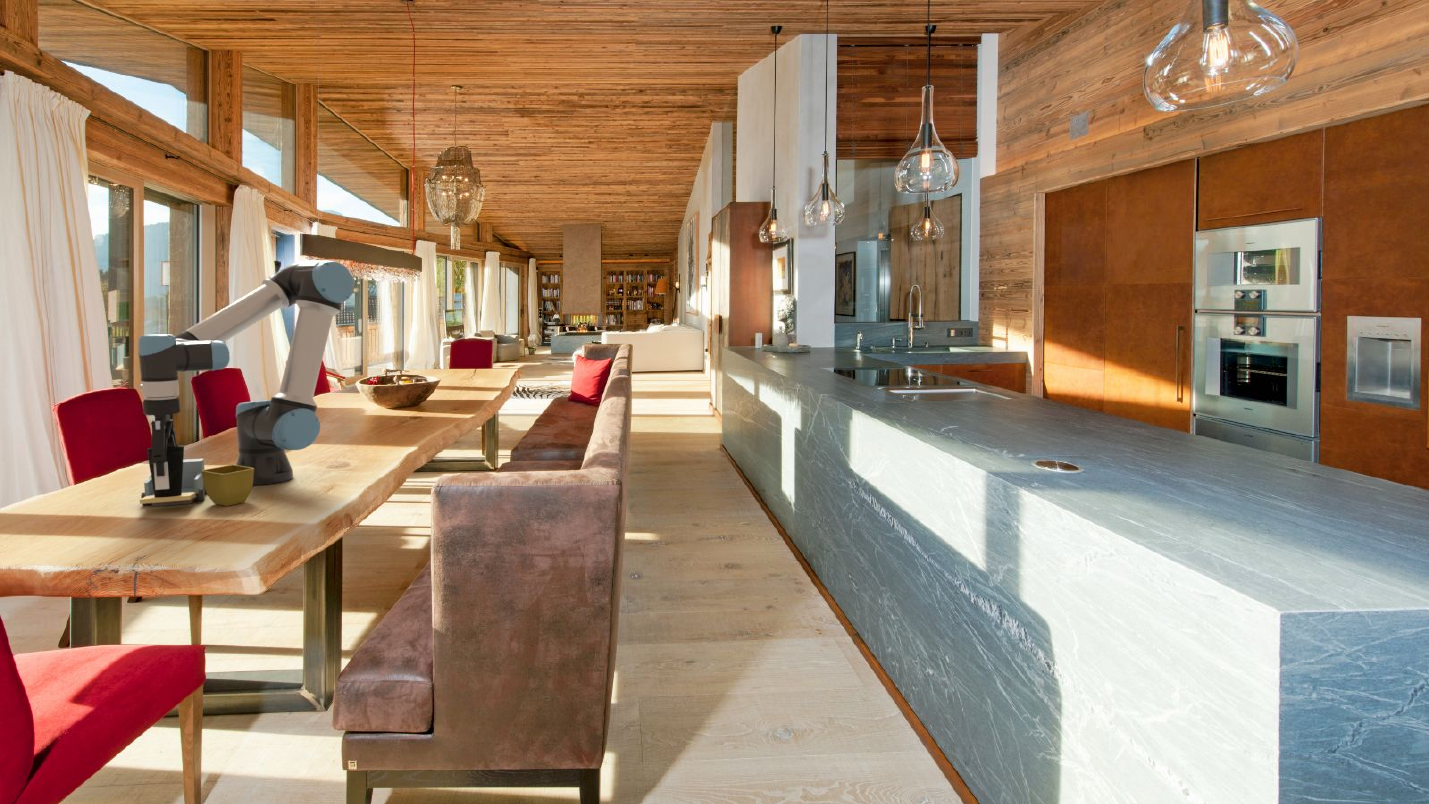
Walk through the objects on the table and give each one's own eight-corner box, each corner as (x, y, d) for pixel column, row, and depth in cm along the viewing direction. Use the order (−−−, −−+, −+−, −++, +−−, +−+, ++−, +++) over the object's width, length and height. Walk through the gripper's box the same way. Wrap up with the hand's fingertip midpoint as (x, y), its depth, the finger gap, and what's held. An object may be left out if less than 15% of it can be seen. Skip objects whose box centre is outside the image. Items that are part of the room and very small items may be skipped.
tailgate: (195, 491, 211) (190, 495, 203) (196, 495, 211) (190, 499, 203) (147, 495, 207) (139, 499, 199) (147, 499, 207) (139, 503, 199)
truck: (209, 490, 225) (207, 458, 223) (202, 502, 212) (200, 467, 211) (151, 495, 219) (149, 461, 218) (141, 507, 207) (138, 472, 206)
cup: (168, 498, 200) (165, 448, 200) (141, 498, 202) (138, 449, 201) (194, 493, 208) (191, 445, 207) (168, 493, 209) (165, 446, 209)
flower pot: (257, 501, 214) (255, 467, 212) (225, 509, 206) (222, 474, 205) (234, 497, 217) (232, 464, 216) (202, 505, 209) (199, 470, 208)
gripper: (152, 392, 211) (158, 474, 214) (131, 404, 189) (138, 495, 191) (186, 391, 214) (192, 472, 217) (170, 403, 192) (177, 492, 195)
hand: (167, 483), depth 204 cm, fingers open, 13 cm apart
